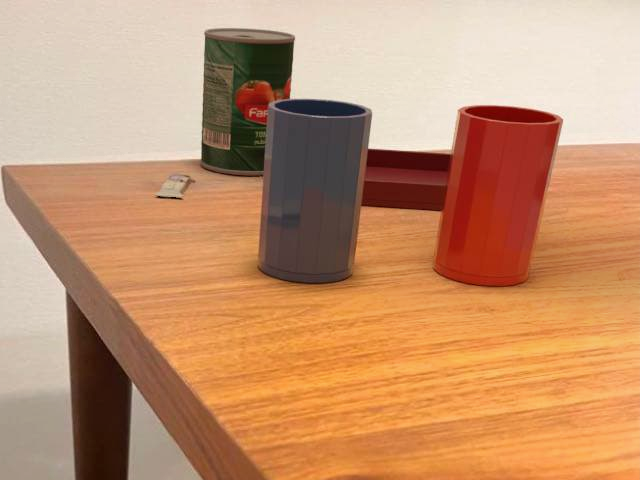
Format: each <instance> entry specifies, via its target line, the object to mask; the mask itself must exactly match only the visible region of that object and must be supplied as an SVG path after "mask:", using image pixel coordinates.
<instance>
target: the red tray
mask: <svg viewBox="0 0 640 480" xmlns="http://www.w3.org/2000/svg"><path fill="white" fill-rule="evenodd" d="M450 155H451V153H444V152H432V151H431V152H429V151H414V150H399V149H385V148H369V147H368V154H367V162H366V170H365V179H364V187H363V195H362V203H361V206H369V207H383V208H395V209H396V208H397V209H410V210H411V209H413V210H426V211H441V209H442V203H443V197H444V191H445V185H446V179H447V173H448V167H449V161H450Z"/></svg>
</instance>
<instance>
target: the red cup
mask: <svg viewBox="0 0 640 480" xmlns="http://www.w3.org/2000/svg"><path fill="white" fill-rule="evenodd" d="M563 123H564V119H563V117H561V116H560V115H558V114H555V113H551V112H549V111H545V110H540V109H534V108H529V107H522V106H521V107H520V106H512V105H497V104H474V105H468V106H467V105H466V106H462V107H460V108H459V109H457V113H456V119H455V126H454V131H453V137H452V143H451V149H450V154H451V155H450V161H449V167H448V173H447V179H446V185H445V191H444V197H443V203H442V209H441V210H440V216H439V222H438V227H437V228H438V229H437V234H436V240H435V247H434V251H433V263H432V266H433V269H434V271H435V272H437V274H439V275H441V276H443V277H445V278H448V279H451V280H453V281H457V282H460V283H465V284H470V285H475V286H486V287H506V286H507V287H509V286H514V285H519V284H521V283H524V282H525V281H527V279H528V277H529V273H530V269H532V268H531V267H532V265H533V264H532V263H533V258H534V254H535V249H536V245H537V240H538V236H539V232H540V228H541V223H542V218H543V213H544V209H545V205H546V199H547V196H548V192H549V187H550V182H551V178H552V173H553V169H554V164H555V160H556V155H557V151H558V147H559V143H560V137H561V132H562V128H563Z"/></svg>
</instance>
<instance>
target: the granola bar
mask: <svg viewBox="0 0 640 480" xmlns="http://www.w3.org/2000/svg"><path fill="white" fill-rule="evenodd" d="M190 182H192V183H195V182H196V180H195V179H194V178H191V176H190V175H186V174H176V173H175V174H171V175H170V176H168V178H167V179H166V180H165V182H164V183H163V184H162V185H161V187H160V190H159V191H157V192H156V193H155V194H154V196H155V197H158V198H171V197H176V198H175V199H184V193H185V192H186V190H187V189H188V187H189V186H190V184H191V183H190ZM188 185H189V186H188ZM186 188H187V189H186ZM184 191H185V192H184ZM182 194H183V195H182ZM159 196H160V197H159Z"/></svg>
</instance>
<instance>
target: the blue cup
mask: <svg viewBox="0 0 640 480" xmlns="http://www.w3.org/2000/svg"><path fill="white" fill-rule="evenodd" d="M372 119H373V111H372V109H371V108H369V107H366V106H364V105H362V104H359V103H353V102H348V101H341V100H335V99H334V100H333V99H321V98H290V99H285V100H277V101H274V102H270V103H269V105H268V114H267V129H266V145H265V160H264V175H262V176H263V177H262V178H263V179H262V192H261V193H262V194H261V205H260V206H261V207H260V220H259V221H260V223H259V224H260V225H259V236H258V237H259V238H258V253H257V259H258V260H257V266H258V269H259V270H261V271H262V272H263V273H265V274H266V275H268V276H270V277H273V278H276V279H280V280H283V281H289V282H294V283H303V284H324V283H326V284H327V283H333V282H339V281H343V280H345V279H347V278H349V277H350V276H351V275H352V274H353V272H354V265H355V261H356V253H357V243H358V237H359V236H358V235H359V228H360V227H359V226H360V220H361V210H362V205H361V203H362V195H363V187H364V179H365V170H366V162H367V154H368V148H369V145H370V137H371V128H372Z"/></svg>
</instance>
